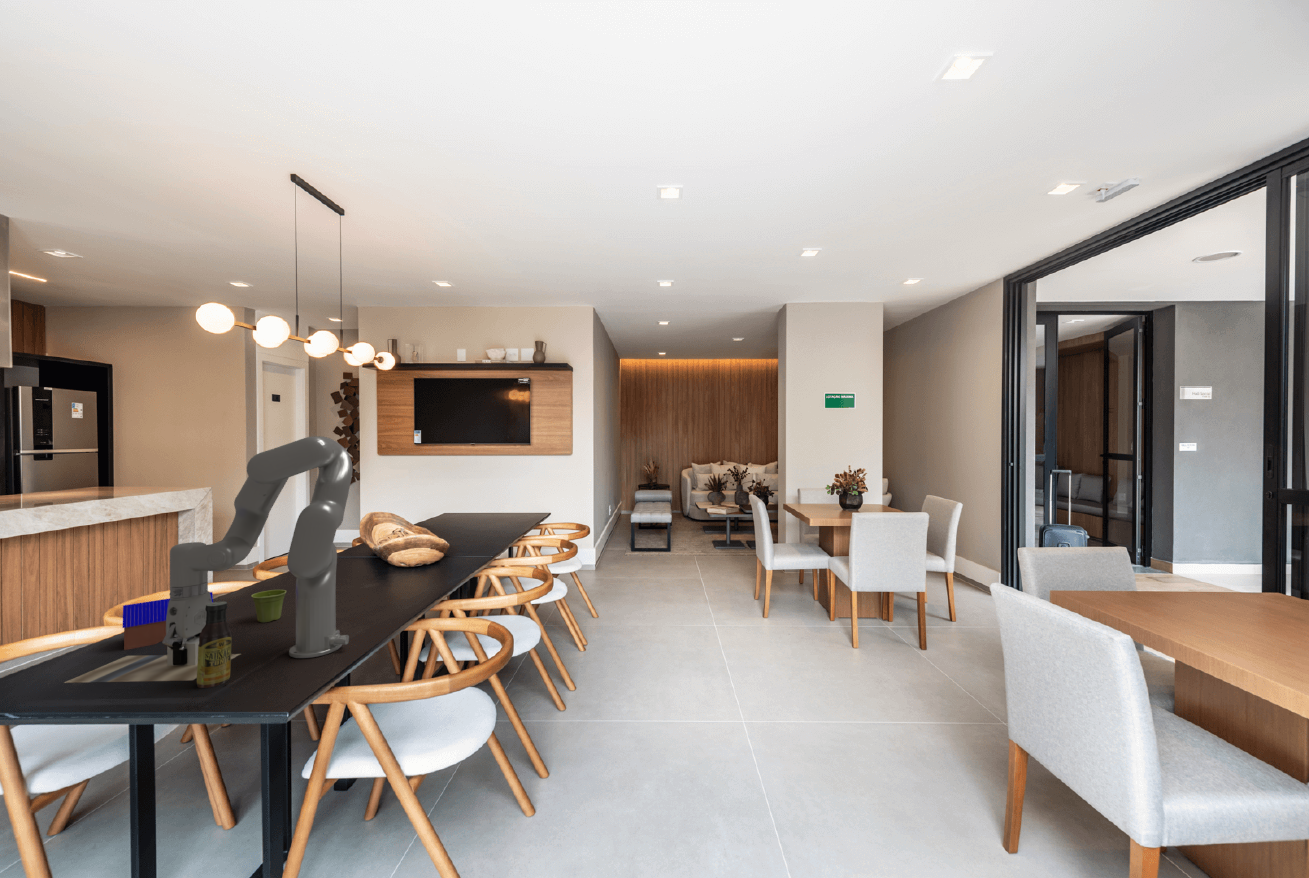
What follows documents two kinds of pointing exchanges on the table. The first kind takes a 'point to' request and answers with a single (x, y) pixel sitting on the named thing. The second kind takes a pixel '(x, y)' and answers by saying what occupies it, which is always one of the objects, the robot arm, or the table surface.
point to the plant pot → (268, 604)
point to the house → (145, 623)
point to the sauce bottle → (214, 647)
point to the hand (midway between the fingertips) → (189, 659)
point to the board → (140, 670)
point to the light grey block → (191, 652)
